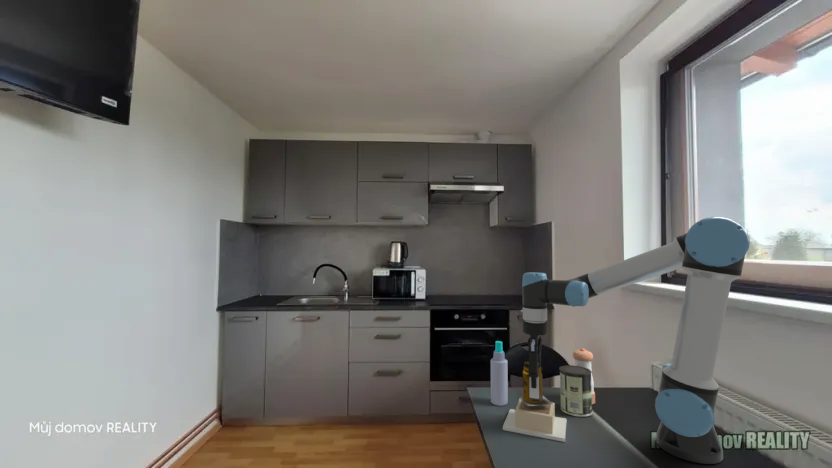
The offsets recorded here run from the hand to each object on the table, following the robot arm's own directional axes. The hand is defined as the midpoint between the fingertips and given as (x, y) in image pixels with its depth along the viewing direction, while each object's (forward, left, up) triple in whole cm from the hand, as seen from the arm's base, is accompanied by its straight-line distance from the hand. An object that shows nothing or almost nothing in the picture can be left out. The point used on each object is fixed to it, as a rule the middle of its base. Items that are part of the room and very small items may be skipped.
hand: (535, 393), depth 120 cm
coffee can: (-12, -17, -10) cm, 23 cm away
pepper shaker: (-14, -28, -10) cm, 33 cm away
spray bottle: (+14, -13, -10) cm, 22 cm away
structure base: (0, 0, -10) cm, 10 cm away
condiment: (0, 0, -3) cm, 3 cm away
